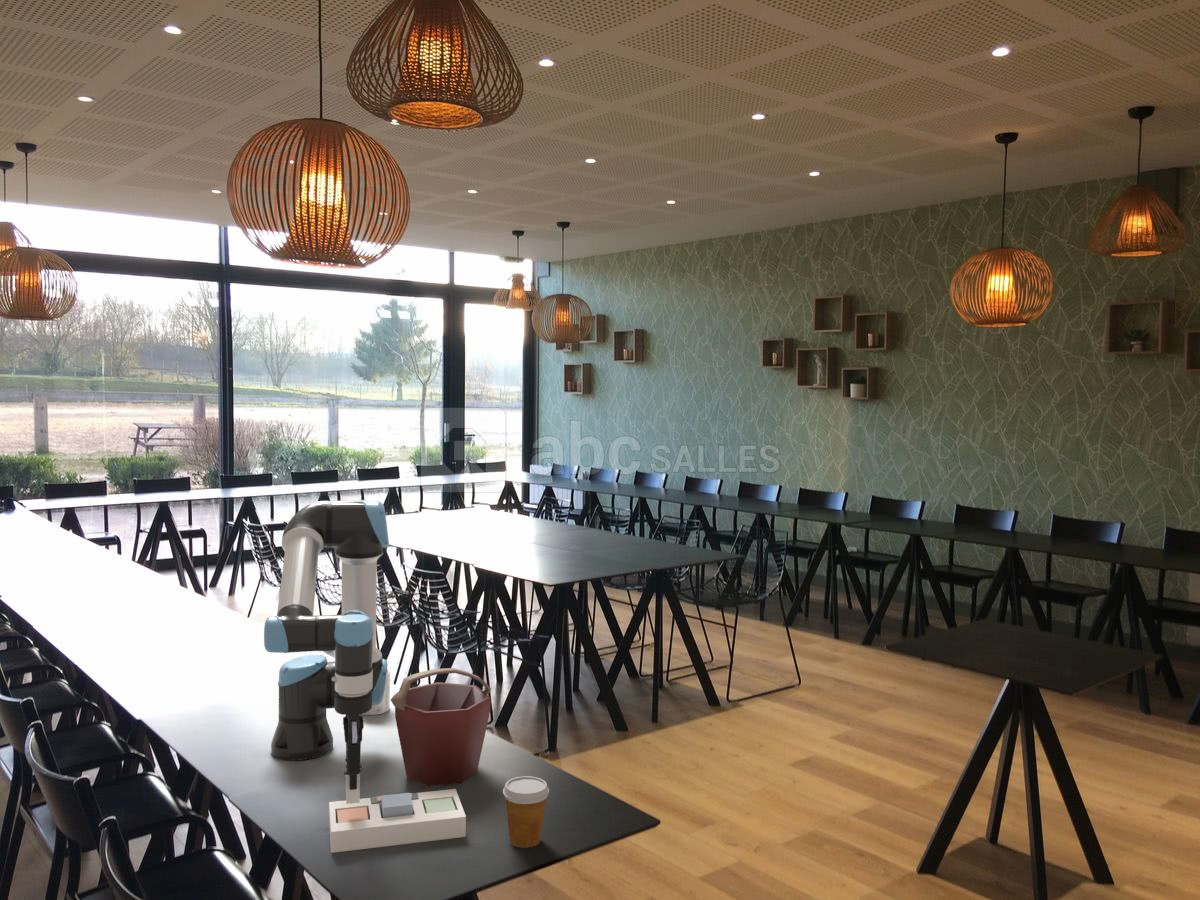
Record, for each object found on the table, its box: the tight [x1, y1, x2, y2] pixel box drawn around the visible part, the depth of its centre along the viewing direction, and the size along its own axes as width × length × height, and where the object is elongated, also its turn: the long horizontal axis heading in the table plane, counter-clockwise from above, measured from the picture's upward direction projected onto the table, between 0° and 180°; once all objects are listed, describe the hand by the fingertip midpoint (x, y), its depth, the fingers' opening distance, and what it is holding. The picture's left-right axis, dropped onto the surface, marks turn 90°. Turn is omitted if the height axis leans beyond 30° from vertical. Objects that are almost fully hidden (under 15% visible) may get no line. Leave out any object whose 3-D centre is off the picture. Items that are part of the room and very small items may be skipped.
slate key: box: [380, 792, 413, 818], centre depth 198 cm, size 6×6×2 cm
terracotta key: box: [337, 807, 368, 823], centre depth 196 cm, size 6×6×2 cm
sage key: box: [424, 798, 456, 813], centre depth 201 cm, size 6×6×2 cm
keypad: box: [328, 788, 467, 854], centre depth 198 cm, size 14×27×5 cm, turn 107°
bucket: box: [390, 667, 492, 787], centre depth 228 cm, size 24×22×25 cm
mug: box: [361, 668, 391, 716], centre depth 270 cm, size 10×12×11 cm
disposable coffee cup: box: [502, 775, 550, 849], centre depth 194 cm, size 10×10×12 cm
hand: (352, 801), depth 196 cm, fingers closed
